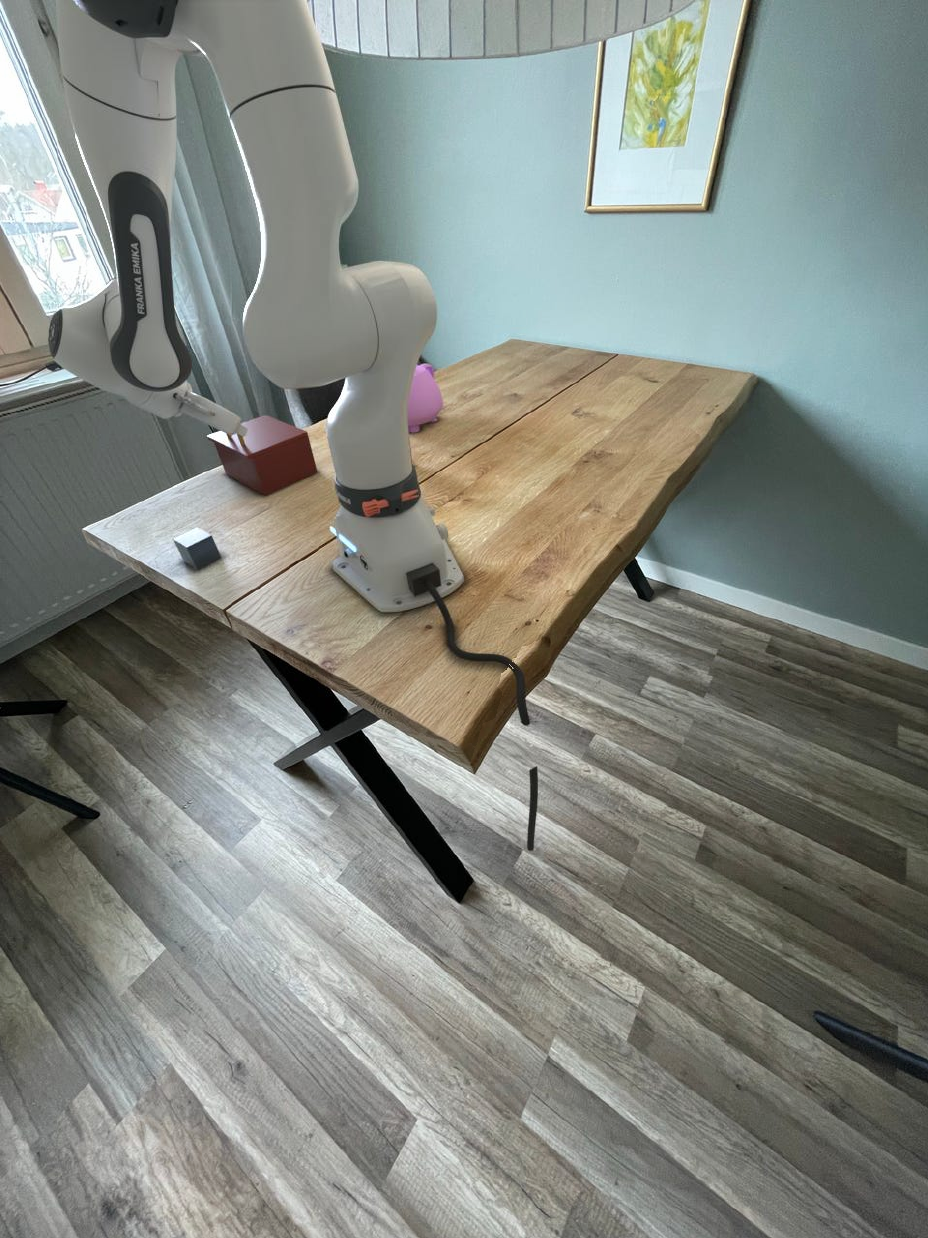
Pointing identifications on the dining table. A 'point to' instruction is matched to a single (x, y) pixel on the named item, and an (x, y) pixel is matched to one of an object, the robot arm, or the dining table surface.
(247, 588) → the dining table surface
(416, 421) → the pink piggy bank
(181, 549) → the block
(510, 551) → the dining table surface
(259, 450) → the cover
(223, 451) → the red hinged box
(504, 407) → the dining table surface
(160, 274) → the robot arm
